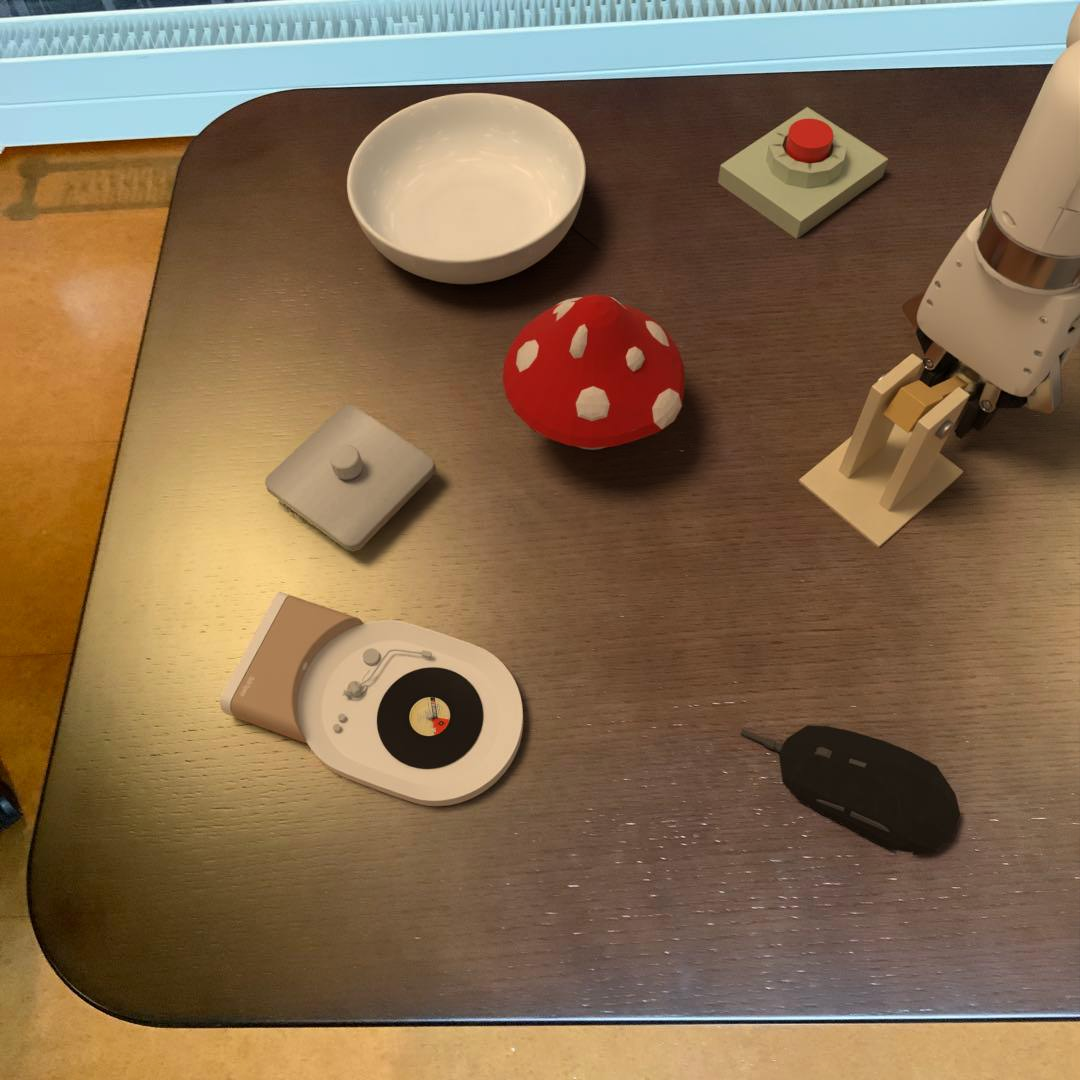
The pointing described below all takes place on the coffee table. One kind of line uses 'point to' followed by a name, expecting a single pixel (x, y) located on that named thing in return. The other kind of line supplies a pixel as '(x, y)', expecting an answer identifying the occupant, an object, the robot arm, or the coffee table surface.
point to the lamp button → (809, 140)
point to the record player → (380, 701)
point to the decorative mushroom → (594, 374)
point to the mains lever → (932, 395)
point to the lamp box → (801, 177)
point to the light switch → (350, 477)
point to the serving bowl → (467, 186)
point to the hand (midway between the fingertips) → (949, 410)
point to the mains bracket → (888, 461)
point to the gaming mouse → (869, 787)
